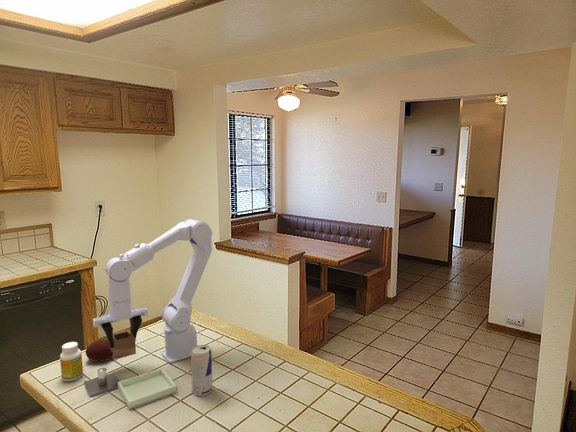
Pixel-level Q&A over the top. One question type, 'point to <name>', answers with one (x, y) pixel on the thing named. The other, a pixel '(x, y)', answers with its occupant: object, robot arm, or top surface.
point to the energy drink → (201, 370)
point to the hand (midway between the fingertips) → (122, 343)
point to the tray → (146, 388)
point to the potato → (99, 350)
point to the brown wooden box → (123, 344)
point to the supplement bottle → (71, 362)
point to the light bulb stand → (101, 383)
